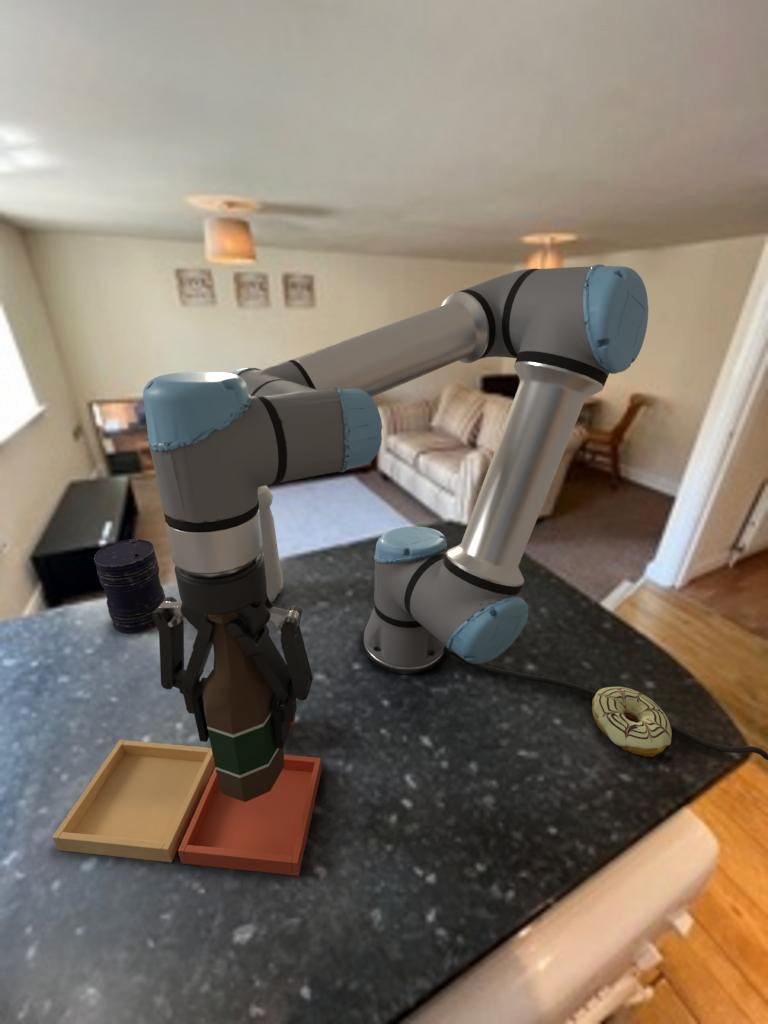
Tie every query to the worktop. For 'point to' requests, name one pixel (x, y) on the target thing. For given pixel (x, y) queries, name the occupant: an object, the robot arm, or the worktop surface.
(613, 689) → the decorated donut
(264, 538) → the bottle
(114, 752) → the birch tray
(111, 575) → the storage jar
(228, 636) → the beer bottle
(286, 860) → the terracotta tray
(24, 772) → the worktop surface
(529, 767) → the worktop surface
